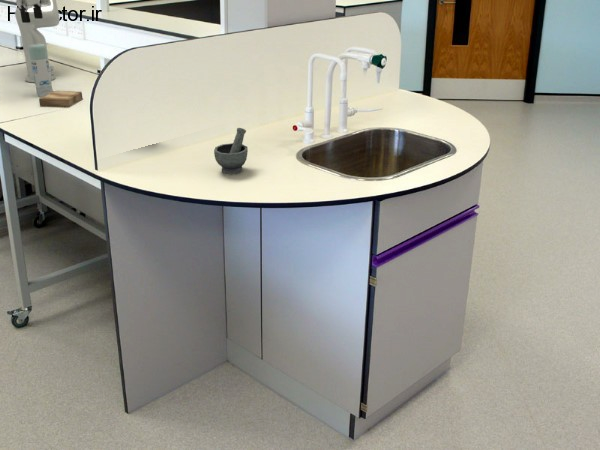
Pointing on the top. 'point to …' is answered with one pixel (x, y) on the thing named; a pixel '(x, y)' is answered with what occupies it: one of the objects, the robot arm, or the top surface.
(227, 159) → the mortar and pestle
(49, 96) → the square brown tray
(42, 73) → the pale blue bottle
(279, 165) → the top surface
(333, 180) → the top surface
